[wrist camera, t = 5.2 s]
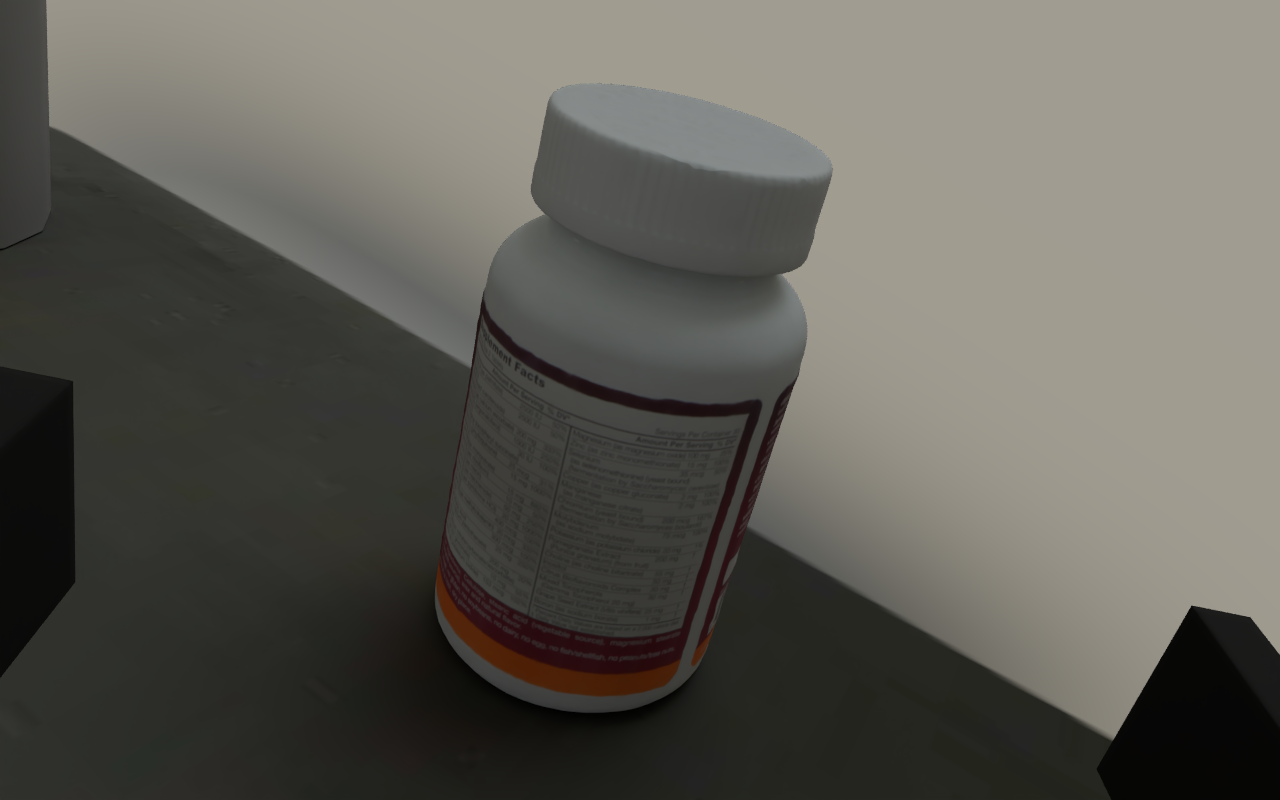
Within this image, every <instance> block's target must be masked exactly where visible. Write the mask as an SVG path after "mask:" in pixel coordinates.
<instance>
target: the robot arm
mask: <svg viewBox="0 0 1280 800" xmlns="http://www.w3.org/2000/svg"><path fill="white" fill-rule="evenodd" d="M74 583H75V516H74V433H73V381H70V380H65V379H60V378H55V377H50V376H45V375H40V374H35V373H30V372H25V371H20V370H15V369H10V368H5V367H0V677H1V676H2V675H3V674H4V672H5V671H6V670H7V669H8V667H9V666H10V665H11V663H12V662H13V661H14V660H15V658H16V657H17V656H18V654H19V653H20V652H21V651H22V649H23V648H24V647H25V646H26V644H27V643H28V642H29V640H30V639H31V638H32V637H33V635H34V634H35V633H36V631H37V630H38V629H39V628H40V626H41V625H42V624H43V623H44V621H45V620H46V619H47V617H48V616H49V615H50V614H51V612H52V611H53V610H54V608H55V607H56V606H57V605H58V603H59V602H60V601H61V600H62V598H63V597H64V596H65V594H66V593H67V592H68V591H69V589H70V588H71V587H72V586H73V584H74ZM1097 771H1098V773H1099V775H1100V777H1101V779H1102V781H1103V783H1104V785H1105V787H1106V789H1107V791H1108V794H1109V796H1110V798H1111V800H1280V655H1279V653H1278V652H1277V651H1276V650H1275V648H1274V647H1273V646H1272V645H1271V643H1270V642H1269V641H1268V639H1267V638H1266V637H1265V636H1264V634H1263V633H1262V632H1261V631H1260V629H1259V628H1258V627H1257V625H1256V624H1255V623H1254V622H1253V620H1252V619H1251V618H1250V617H1246V616H1241V615H1236V614H1231V613H1226V612H1221V611H1216V610H1211V609H1206V608H1201V607H1196V606H1191V608H1190V609H1189V611H1188V613H1187V615H1186V616H1185V618H1184V620H1183V621H1182V623H1181V625H1180V627H1179V629H1178V630H1177V632H1176V633H1175V635H1174V637H1173V639H1172V640H1171V642H1170V644H1169V646H1168V647H1167V649H1166V651H1165V653H1164V654H1163V656H1162V657H1161V659H1160V661H1159V663H1158V665H1157V666H1156V668H1155V669H1154V671H1153V673H1152V675H1151V676H1150V678H1149V680H1148V682H1147V683H1146V685H1145V687H1144V688H1143V690H1142V692H1141V694H1140V695H1139V697H1138V699H1137V700H1136V702H1135V704H1134V706H1133V707H1132V709H1131V711H1130V713H1129V714H1128V716H1127V718H1126V719H1125V721H1124V723H1123V725H1122V726H1121V728H1120V730H1119V731H1118V733H1117V735H1116V736H1115V738H1114V740H1113V742H1112V743H1111V745H1110V747H1109V748H1108V750H1107V752H1106V754H1105V755H1104V757H1103V759H1102V760H1101V762H1100V764H1099V766H1098V767H1097Z"/></svg>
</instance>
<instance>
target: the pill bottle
mask: <svg viewBox="0 0 1280 800" xmlns="http://www.w3.org/2000/svg"><path fill="white" fill-rule="evenodd" d="M832 169H833V168H832V164H831V161H830V160H829V158H828V157H827V156H826V155H825V154H824V153H823V152H822V151H821V150H820V149H818V148H817V147H816V146H814V145H812V144H811V143H810V142H808V141H807V140H805V139H803V138H801V137H800V136H798V135H796V134H794V133H792V132H789V131H787V130H786V129H784V128H781V127H779V126H777V125H775V124H772V123H770V122H767V121H765V120H763V119H760V118H758V117H754V116H752V115H749V114H745V113H743V112H740V111H737V110H733V109H730V108H727V107H724V106H721V105H718V104H714V103H710V102H707V101H703V100H700V99H696V98H692V97H688V96H683V95H679V94H674V93H670V92H664V91H659V90H653V89H647V88H641V87H634V86H625V85H614V84H576V85H570V86H566V87H562V88H560V89H558V90H557V91H555V92H554V93H553V94H552V95H551V97H550V99H549V101H548V106H547V110H546V116H545V120H544V125H543V130H542V136H541V141H540V146H539V152H538V158H537V161H536V163H535V167H534V172H533V179H532V184H531V194H532V197H533V199H534V201H535V203H536V204H537V205H538V207H539V208H540V209H541V210H542V211H543V212H544V213H545V215H542V216H540V217H538V218H536V219H534V220H531V221H530V222H528V223H526V224H524V225H523V226H521V227H520V228H518V229H517V230H516V231H514V232H513V233H512V234H511V235H510V236H509V237H508V238H507V239H506V240H505V241H504V242H503V244H502V245H501V246H500V248H499V249H498V251H497V253H496V255H495V257H494V259H493V262H492V264H491V267H490V270H489V275H488V279H487V284H486V287H485V290H484V292H483V297H482V303H481V309H480V316H479V320H478V323H477V332H476V340H475V347H474V353H473V359H472V367H471V374H470V380H469V386H468V393H467V398H466V403H465V409H464V416H463V421H462V428H461V435H460V440H459V445H458V450H457V456H456V462H455V466H454V470H453V478H452V484H451V488H450V495H449V502H448V507H447V514H446V519H445V526H444V532H443V536H442V545H441V551H440V559H439V565H438V571H437V578H436V586H435V607H436V612H437V617H438V621H439V624H440V625H441V628H442V630H443V632H444V634H445V636H446V637H447V639H448V641H449V643H450V644H451V646H452V647H453V649H454V650H455V651H456V653H457V654H458V655H459V656H460V657H461V658H462V659H463V660H464V661H465V662H466V663H467V664H468V665H469V666H470V667H471V668H472V669H473V670H474V671H475V672H476V673H477V674H479V675H480V676H481V677H482V678H484V679H485V680H486V681H488V682H489V683H491V684H492V685H494V686H496V687H497V688H499V689H500V690H502V691H504V692H505V693H508V694H510V695H512V696H514V697H517V698H519V699H521V700H524V701H527V702H529V703H532V704H536V705H540V706H543V707H548V708H552V709H557V710H562V711H571V712H582V713H605V712H615V711H624V710H630V709H635V708H638V707H641V706H644V705H647V704H649V703H652V702H654V701H656V700H659V699H661V698H663V697H665V696H666V695H668V694H670V693H672V692H673V691H674V690H676V689H677V688H679V687H680V686H681V685H682V684H683V683H684V682H685V681H686V680H687V679H688V678H689V677H690V676H691V675H692V674H693V673H694V671H695V670H696V669H697V667H698V666H699V664H700V662H701V660H702V658H703V656H704V654H705V651H706V649H707V646H708V643H709V641H710V638H711V635H712V632H713V629H714V626H715V623H716V620H717V618H718V615H719V612H720V608H721V604H722V601H723V598H724V595H725V592H726V588H727V585H728V582H729V579H730V576H731V573H732V570H733V568H734V565H735V563H736V560H737V556H738V552H739V549H740V545H741V542H742V539H743V536H744V533H745V530H746V527H747V524H748V522H749V519H750V515H751V513H752V510H753V507H754V504H755V501H756V498H757V495H758V492H759V489H760V486H761V483H762V480H763V476H764V473H765V470H766V467H767V464H768V461H769V458H770V455H771V452H772V449H773V446H774V443H775V440H776V437H777V435H778V431H779V428H780V425H781V422H782V419H783V416H784V413H785V411H786V408H787V405H788V401H789V398H790V396H791V392H792V390H793V386H794V384H795V382H796V380H797V377H798V375H799V370H800V365H801V361H802V358H803V355H804V351H805V346H806V340H807V322H806V317H805V312H804V309H803V306H802V304H801V302H800V300H799V298H798V295H797V294H796V292H795V290H794V289H793V288H792V286H791V285H790V283H788V281H787V280H786V279H785V278H784V277H783V276H782V274H783V273H786V272H790V271H793V270H795V269H797V268H798V267H800V266H801V265H802V264H803V263H804V262H805V261H806V259H807V257H808V253H809V251H810V248H811V245H812V242H813V239H814V233H815V228H816V224H817V221H818V218H819V215H820V212H821V209H822V206H823V203H824V200H825V197H826V194H827V191H828V187H829V184H830V180H831V177H832Z"/></svg>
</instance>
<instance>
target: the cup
mask: <svg viewBox="0 0 1280 800" xmlns="http://www.w3.org/2000/svg"><path fill="white" fill-rule="evenodd" d="M50 212H51V186H50V143H49V101H48V62H47V19H46V0H0V249H1V248H6V247H8V246H10V245H12V244H15V243H17V242H19V241H21V240H23V239H26V238H28V237H30V236H32V235H34V234H37V233H39V232H41V231H43V229H44V226H45V224H46V222H47V219H48V217H49V214H50Z"/></svg>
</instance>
